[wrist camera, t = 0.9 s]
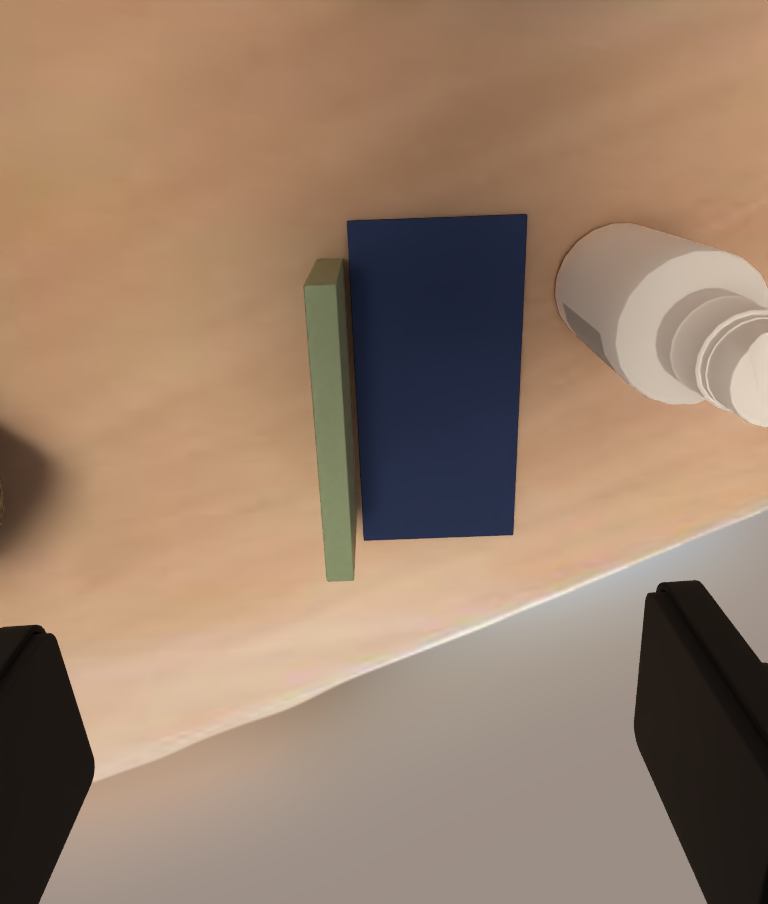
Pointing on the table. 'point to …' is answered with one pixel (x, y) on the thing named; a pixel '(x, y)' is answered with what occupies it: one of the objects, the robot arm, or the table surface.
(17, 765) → the robot arm
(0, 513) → the tabletop clock
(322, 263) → the backboard
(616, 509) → the table surface
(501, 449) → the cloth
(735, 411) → the white capped bottle
